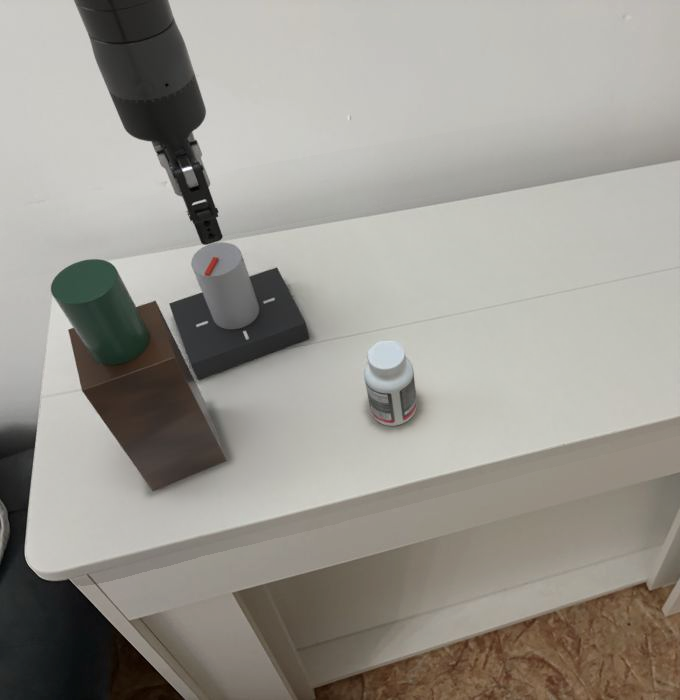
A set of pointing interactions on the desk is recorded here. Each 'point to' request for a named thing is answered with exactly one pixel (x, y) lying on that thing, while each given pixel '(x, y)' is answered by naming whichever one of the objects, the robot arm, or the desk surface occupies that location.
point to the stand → (152, 406)
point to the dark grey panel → (244, 343)
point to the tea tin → (101, 311)
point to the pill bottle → (390, 383)
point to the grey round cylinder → (225, 285)
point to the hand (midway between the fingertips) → (201, 217)
